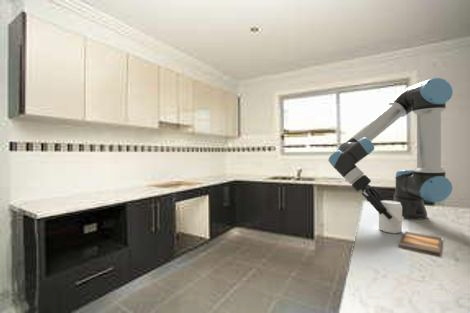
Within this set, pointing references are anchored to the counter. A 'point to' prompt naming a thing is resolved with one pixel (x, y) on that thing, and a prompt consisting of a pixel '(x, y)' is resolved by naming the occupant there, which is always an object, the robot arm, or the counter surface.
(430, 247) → the label board
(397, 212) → the beverage can
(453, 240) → the counter surface
